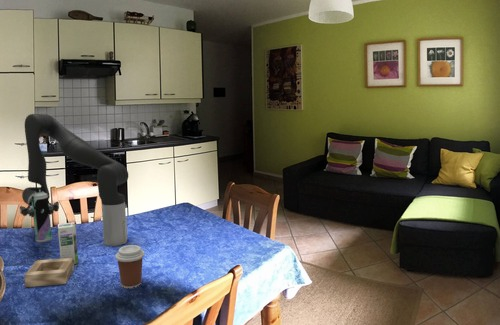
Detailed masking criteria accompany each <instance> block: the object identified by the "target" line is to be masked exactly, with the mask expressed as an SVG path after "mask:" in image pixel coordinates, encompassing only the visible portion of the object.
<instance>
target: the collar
mask: <svg viewBox="0 0 500 325" xmlns="http://www.w3.org/2000/svg"><path fill="white" fill-rule="evenodd" d="M74 269H75V264H74V259H73V258H63V259H60V258H54V259H53V258H52V259H51V258H50V259H38V260H35V262H34V263H33V264H32V265H31V266H30V268H29V269H28V270H27V272H26V273H25V274H24V275H23V278H24V287H25V288H31V287H32V288H33V287H44V286H46V287H47V286H56V285H66V284H67V283H68V281H69V278H70V277H71V276H72V273H73V271H74Z"/></svg>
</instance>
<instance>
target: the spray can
mask: <svg viewBox="0 0 500 325" xmlns="http://www.w3.org/2000/svg"><path fill="white" fill-rule="evenodd" d="M31 199H32V208H33V215H34V217H32V218H33V225H34V236H35V242H36V243H37V242H38V243H45V242H49V241H51V240H52V239H53V235H52V227H51V226H52V225H51V224H52V223H51V216H50V214H49V203H50V202H49V203H48V196H47V193H44V192H43V191H42V189H41V188H40V189H36V192H35V194H33V195H32V198H31Z"/></svg>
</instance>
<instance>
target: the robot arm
mask: <svg viewBox="0 0 500 325" xmlns="http://www.w3.org/2000/svg"><path fill="white" fill-rule="evenodd" d="M24 132H25V133H24V135H25V141H26V142H25V143H26V147H27V156H28V158H27V159H28V165H27V166H28V167H27V168H28V169H27V180H28V182H30V183H33V184H37V185H39V186H40V187H38V186H36V187H35V186H33V187H32V186H31V187H26V188H24V189H23V191H22V195H21V197H22V200H23V202H24V204H26V205H27V206H22V205H21V206H19V213H20V214H21V215H22V216H24V217H26V216H28V217H31V218H33V217H34V215H33V208H32V199H31V198H32V195H33V194H35V192H36V189H40V188H41V189H42V191H43V192H44V193H47V196H48V203H49V214H50V215H51V216H52V215H53V214H54V212H58V211H59V210H60V203H59V202H60V201H55V202H53V203H51V202H50V197H51V196H50V191H49V188H48V184H47V160H46V158H45V156H44V153H43V152H42V149H41V146H40V136H47V137H50V138H52V139H54V140H55V141H56V142H57V143H58V145H59V148H60V150H61V151H62V153H63V154H64V155H65V156H67V157H68V158H69V159H71V160H72V161H74V162H76V163H78V164H80V165H84V166H87V167H91V168H93V169H96V170H97V174H96V179H97V188H98V196H99V199H100V201H101V202H100V203H101V215H102V216H101V217H102V218H101V219H102V232H103V233H102V236H103V245H105V246H108V247H116V246H121V245H124V244H125V245H126V244H127V242H128V239H129V238H128V222H127V221H128V220H127V215H126V212H127V211H126V198H125V195H124V194H123V193H119V191H118V186H121V185H123V184H124V183H127V181H128V179H129V171H128V169H127V168H126V166H124V164H122V163H120V162H119V161H117V160H114V159H113V158H112V157H109V156H107V154H104V153H103V152H101V151H100V150H98V149H97V148H95V147H94V146H92V145H91V144H90V143H88V142H87V141H86V140H84V139H83V138H81V137H80V136H77V135H76V134H75V133H73V132H72V131H71V130H69V129H67V127H65V126H63V125H62V124H61V123H60V122H59V121H58V120H56V118H54V117H53V116H51V115H49V114H47V113H31V114H28V115H27V116H26V118H25V119H24Z"/></svg>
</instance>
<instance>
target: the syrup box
mask: <svg viewBox="0 0 500 325" xmlns="http://www.w3.org/2000/svg"><path fill="white" fill-rule="evenodd" d="M57 233H58V245H59V256H60V257H59V259H63V258H73V259H74V265H76V264H77V265H78V264H79V258H78V257H79V256H78V255H79V254H78V242H77V228H76V223H75V221H72V222H66V223H58V224H57Z"/></svg>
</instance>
